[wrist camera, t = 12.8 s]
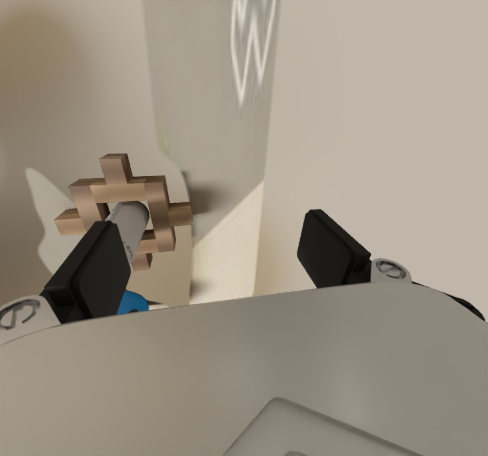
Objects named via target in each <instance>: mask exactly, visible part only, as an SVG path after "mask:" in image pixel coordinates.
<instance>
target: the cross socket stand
mask: <svg viewBox="0 0 488 456" xmlns="http://www.w3.org/2000/svg"><path fill="white" fill-rule="evenodd" d="M99 161H100V164H101V168H102V171H103V174H104V177H105V178H94V179H79V180H77V181H76V182H74V183H73V184H71V185H70V186H68V188H69V190H70V193H71V195H72V197H73V200H74V202H75V205H76V207H77V209H73V210H65V211H64V212H63V213H62V214H60V215H59V216H58V217H57V218H56V219H54V222H55V224H56V226H57V228H58V230H59V232H60V234H61V236H62V235H74V234H86V233H87V231H88V230H89V229H90V227H91V226H92V225H93V224H94V222H95V221H105V220H106V219H107V217H108V216H109V215H110V211H109V208H108V205H107V202H123V201H140V200H147V201H148V206H149V210H150V215H151V219H152V223H153V228H154V229H152V230H145V231H144V234H143V237H142V239H141V242H140V245H139V247H138V250H137V253H136V255H135V258H134V260H133V261H132V262H131V264H132V267H133V270H134V271H139V270H148V269H150V266H151V262H152V253H154V252H164V251H173V250H175V243H176V237H175V231H174V226H181V225H192V209H191V202H181V203H169V196H168V191H167V184H166V178H165V176H142V177H133V176H132V172H131V168H130V163H129V160H128V155H127V154H107V155H105V156H103V157H102V158H100V159H99Z"/></svg>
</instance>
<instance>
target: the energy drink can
mask: <svg viewBox="0 0 488 456" xmlns="http://www.w3.org/2000/svg"><path fill="white" fill-rule="evenodd" d="M106 220H111V221H112V222H113V223H116V224H117V226H118V229H119V232H120V235H121V239H122V242H123V245H124V248H125V252H126V255H127V258H128V262H129V264H130V263H131V262H132V261H133V260H134V258H135V255H136V253H137V250H138V247H139V245H140V242H141V239H142V237H143V234H144V231H145V228H146V226H147V223H148V220H149V211H148V209H147V207H146V206H145V205H144V204H143V203H141V202H139V201H123V202H119V203H118V204H117V206H116V207H115V208H114V209H113V211H112V212H111V213H110V215H109V216H108V217H107V219H106Z"/></svg>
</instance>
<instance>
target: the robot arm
mask: <svg viewBox="0 0 488 456" xmlns="http://www.w3.org/2000/svg"><path fill="white" fill-rule="evenodd" d="M370 256H371V253H370V252H368V251H367V250H366V249H365V248H364V247H363V246H362V245H361V244H359V243H358V242H357V241H356V240H355V239H354V238H353V237H351V236H350V235H349V234H348V233H347V232H346V231H345V230H344V229H343V228H342V227H340V226H339V225H338V224H337V223H336V222H335V221H334V220H333V219H331V218H330V217H329V216H328V215H327V214H326V213H325V212H324V211H322V210H321V209H315V210H309V212H308V213H306V215H305V219H304V223H303V228H302V232H301V237H300V241H299V246H298V251H297V257H298V259H299V261H300V262H301V264H302V265H303V267H304V268H305V270H306V272H307V273H308V275H309V276H310V278H311V279H312V281H313V283H314V284H315V286H316V287H317V289H309V290H301V291H293V292H285V293H277V294H270V295H263V296H254V297H246V298H238V299H231V300H223V301H215V302H208V303H200V304H193V305H185V306H178V307H170V308H163V309H155V310H148V311H140V312H133V313H126V314H118V315H117V312H118V309H119V306H120V303H121V300H122V297H123V295H124V292H125V289H126V286H127V283H128V280H129V277H130V274H131V269H130V265H129V262H128V258H127V255H126V252H125V248H124V245H123V242H122V239H121V235H120V232H119V229H118V226H117V224H116V223H113V222H112V221H111V220H105V221H95V222H94V224H93V225H92V226H91V227H90V229H89V230H88V231H87V233H86V234H85V235H84V237H83V238H82V239H81V240H80V242H79V243H78V244H77V246H76V247H75V248H74V249H73V251H72V252H71V253H70V255H69V256H68V257H67V258H66V260H65V261H64V262H63V264H62V265H61V266H60V268H59V269H58V270H57V271H56V273H55V274H54V275H53V277H52V278H51V279H50V280H49V282H48V283H47V284H46V286H45V287H44V288H45V289H44V290H43V291H42V293H41V294H40V295H39V296H38V295H35V296H26V297H22V298H19V299H16V300H13V301H11V302H9V303H7V304H5V305H4V306H1V307H0V456H488V323H487V322H485V318H484V317H483V315H482V314H481V313H480V312H479V311H478V310H477V309H476V308H475V307H474V306H473V305H471V304H470V303H469V302H467V301H465V300H463V299H461V298H457V297H454V296H451V295H449V294H446V293H443V292H440V291H438V290H435V289H432V288H429V287H427V286H424V285H421V284H418V283H416V282H413V281H412V280H411V275H410V273H409V272H408V270H407V269H406V268H404V267H403V266H402V265H400V264H398V263H396V262H394V261H391V260H387V259H381V258H379V259H375V260H373V261H371V260H370V259H369V258H370Z"/></svg>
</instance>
